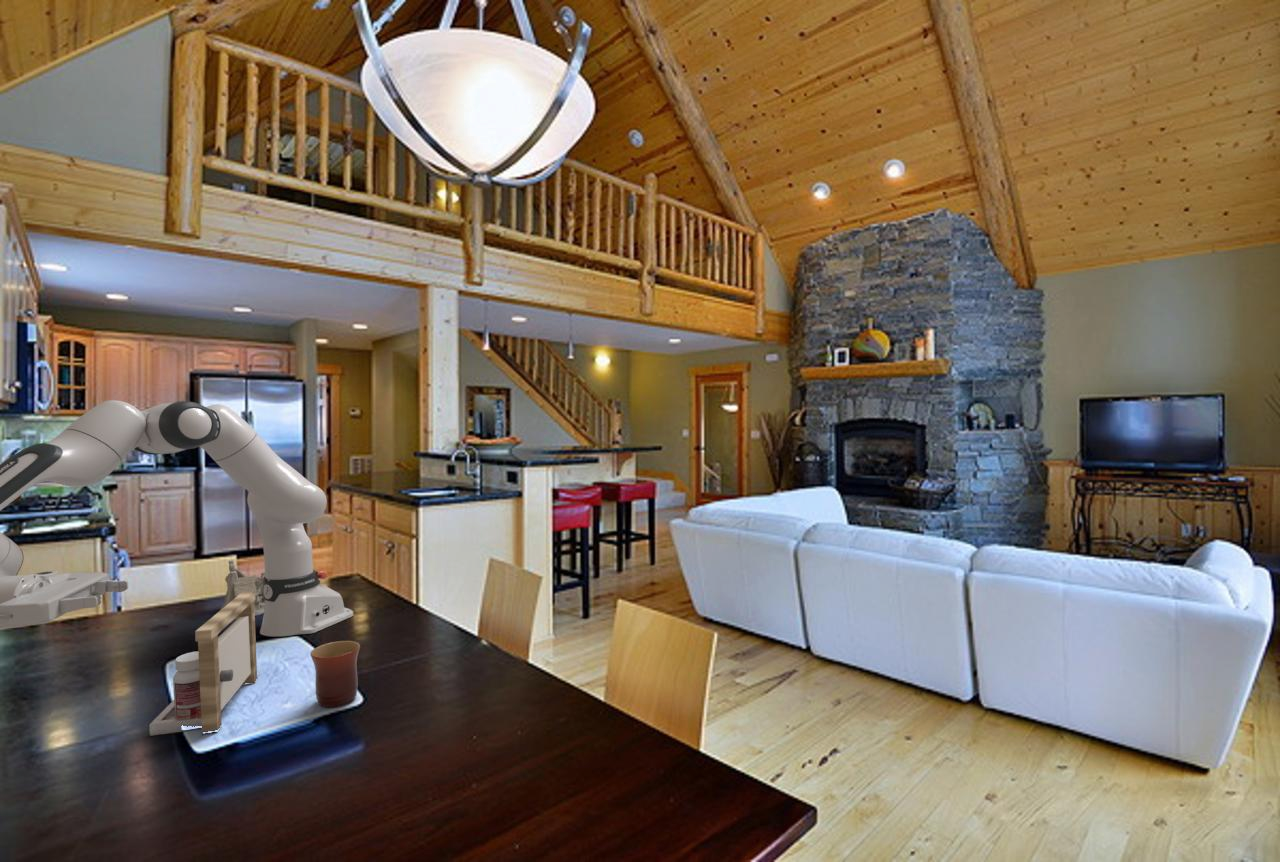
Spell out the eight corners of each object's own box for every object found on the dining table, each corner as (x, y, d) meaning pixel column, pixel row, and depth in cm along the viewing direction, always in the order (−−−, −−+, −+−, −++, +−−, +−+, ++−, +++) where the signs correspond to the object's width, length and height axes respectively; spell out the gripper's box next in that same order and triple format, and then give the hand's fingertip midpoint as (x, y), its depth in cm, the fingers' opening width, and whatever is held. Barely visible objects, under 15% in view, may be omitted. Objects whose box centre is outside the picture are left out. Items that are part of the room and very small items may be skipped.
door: (242, 674, 131) (239, 617, 131) (259, 672, 132) (257, 615, 131) (208, 714, 114) (206, 648, 113) (229, 711, 115) (226, 646, 114)
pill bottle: (219, 714, 118) (217, 655, 118) (180, 727, 114) (177, 665, 113) (209, 704, 122) (207, 647, 122) (171, 716, 118) (168, 657, 117)
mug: (352, 709, 120) (350, 656, 119) (304, 712, 119) (302, 658, 119) (373, 682, 132) (371, 633, 131) (330, 684, 131) (328, 635, 131)
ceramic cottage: (220, 622, 171) (222, 566, 172) (219, 609, 185) (221, 557, 186) (285, 614, 180) (287, 561, 181) (280, 602, 194) (282, 553, 194)
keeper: (175, 709, 121) (174, 698, 121) (228, 702, 124) (227, 692, 124) (149, 735, 111) (149, 724, 111) (208, 728, 114) (207, 717, 114)
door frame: (245, 679, 134) (242, 591, 134) (258, 677, 135) (255, 590, 134) (199, 737, 110) (195, 631, 110) (215, 735, 111) (210, 629, 110)
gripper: (-27, 600, 100) (78, 591, 104) (53, 568, 119) (139, 562, 123) (-25, 640, 100) (80, 629, 104) (54, 601, 120) (140, 594, 123)
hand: (113, 593), depth 114 cm, fingers open, 8 cm apart
